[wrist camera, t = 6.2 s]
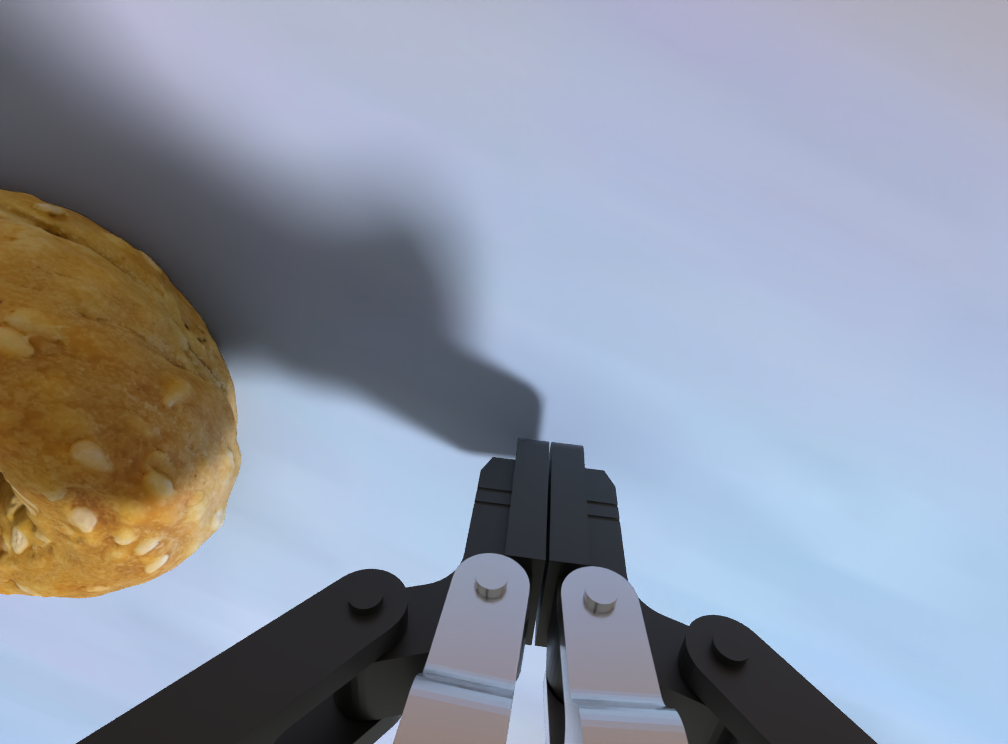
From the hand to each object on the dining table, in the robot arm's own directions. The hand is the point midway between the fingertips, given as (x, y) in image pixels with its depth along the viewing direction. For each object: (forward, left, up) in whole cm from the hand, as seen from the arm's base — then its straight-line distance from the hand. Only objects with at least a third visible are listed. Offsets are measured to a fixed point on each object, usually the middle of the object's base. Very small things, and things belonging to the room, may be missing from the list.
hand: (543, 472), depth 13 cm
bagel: (0, -12, -1) cm, 12 cm away
